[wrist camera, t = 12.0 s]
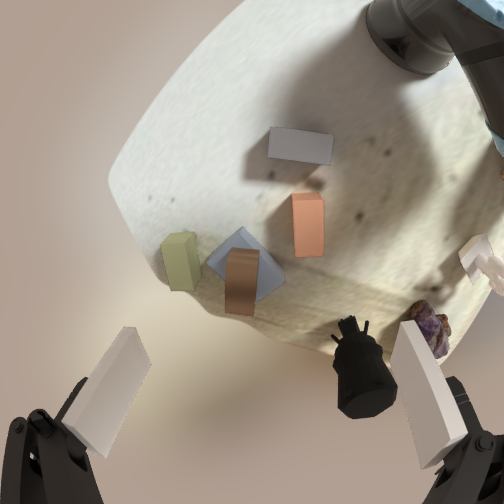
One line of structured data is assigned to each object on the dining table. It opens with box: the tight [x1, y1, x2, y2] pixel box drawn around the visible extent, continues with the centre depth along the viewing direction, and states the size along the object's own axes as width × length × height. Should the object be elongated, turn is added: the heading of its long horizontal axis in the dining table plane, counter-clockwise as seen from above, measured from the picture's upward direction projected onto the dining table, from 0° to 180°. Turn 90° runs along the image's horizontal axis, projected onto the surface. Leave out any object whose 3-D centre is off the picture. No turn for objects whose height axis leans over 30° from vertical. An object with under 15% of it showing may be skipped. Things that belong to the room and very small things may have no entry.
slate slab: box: [206, 226, 285, 303], centre depth 43 cm, size 10×7×4 cm
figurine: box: [458, 233, 504, 297], centre depth 33 cm, size 7×9×15 cm
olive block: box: [160, 232, 202, 291], centre depth 43 cm, size 8×4×5 cm, turn 5°
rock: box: [410, 300, 451, 359], centre depth 43 cm, size 12×9×10 cm
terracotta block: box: [292, 192, 324, 257], centre depth 39 cm, size 8×4×5 cm, turn 5°
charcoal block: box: [268, 127, 334, 166], centre depth 34 cm, size 8×4×5 cm, turn 85°
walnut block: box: [225, 247, 260, 316], centre depth 39 cm, size 8×4×5 cm, turn 177°
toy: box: [331, 315, 398, 419], centre depth 38 cm, size 8×9×20 cm
